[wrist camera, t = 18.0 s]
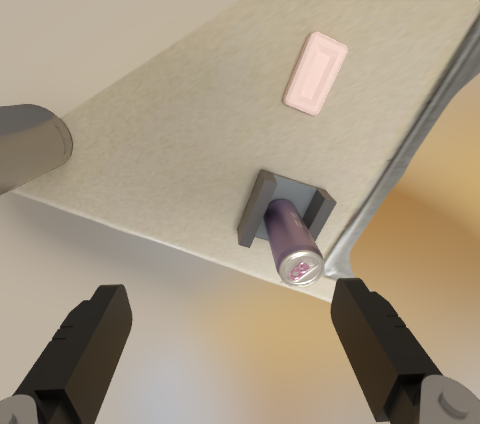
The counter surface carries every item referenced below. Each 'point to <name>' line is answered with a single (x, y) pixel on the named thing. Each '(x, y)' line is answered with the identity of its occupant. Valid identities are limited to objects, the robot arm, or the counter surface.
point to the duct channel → (281, 188)
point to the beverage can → (292, 245)
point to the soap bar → (314, 73)
